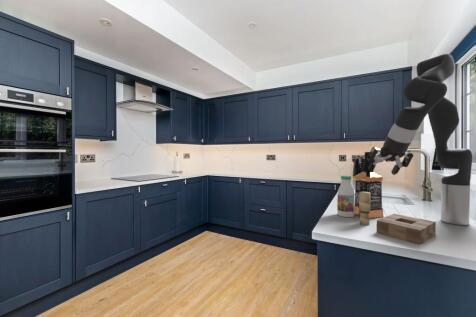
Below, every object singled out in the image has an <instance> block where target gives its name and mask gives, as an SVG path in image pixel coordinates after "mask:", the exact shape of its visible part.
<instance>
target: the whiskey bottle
mask: <svg viewBox="0 0 476 317" xmlns="http://www.w3.org/2000/svg"><path fill="white" fill-rule="evenodd" d="M369 153H370V151H365V152H364V154H363V155H364V162H363V165H362V168H363V171H362V172H360V173H358V174H356V175H354V180H355V189H354V196H355V206H354V215H357V216H359V217H360V211H359V192H370V193H371V204H370V213H369V219H375V218H376V219H377V218H384V208H383V198H382V197H383V191H382V190H383V188H382V184H383V183H382V182H383V176H381V175H380V174H377V173H376V172H375V171H374V170H373V172H370V170H369V168H368V167H369V165H370V163H369V162H368V160H367V157H368V155H369Z"/></svg>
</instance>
